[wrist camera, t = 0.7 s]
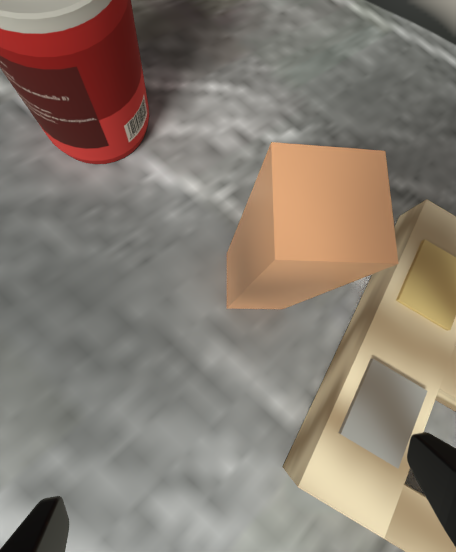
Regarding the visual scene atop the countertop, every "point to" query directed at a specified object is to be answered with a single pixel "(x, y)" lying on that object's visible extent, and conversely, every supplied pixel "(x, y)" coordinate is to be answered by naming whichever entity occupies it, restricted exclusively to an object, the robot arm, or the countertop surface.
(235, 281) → the plug
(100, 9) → the canned food
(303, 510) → the countertop surface
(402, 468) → the socket plate
